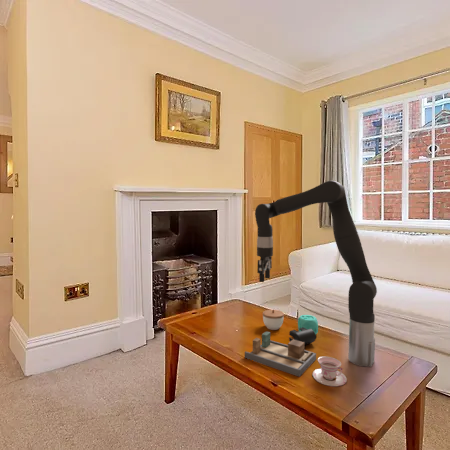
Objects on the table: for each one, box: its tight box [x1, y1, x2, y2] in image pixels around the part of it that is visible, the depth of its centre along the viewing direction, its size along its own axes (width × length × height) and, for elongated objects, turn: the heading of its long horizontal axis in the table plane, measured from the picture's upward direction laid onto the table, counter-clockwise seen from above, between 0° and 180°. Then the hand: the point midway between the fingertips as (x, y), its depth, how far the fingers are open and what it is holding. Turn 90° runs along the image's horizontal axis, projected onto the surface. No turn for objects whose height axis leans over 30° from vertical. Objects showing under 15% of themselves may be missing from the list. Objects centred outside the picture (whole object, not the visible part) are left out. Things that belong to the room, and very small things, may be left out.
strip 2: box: [261, 331, 313, 362], centre depth 132 cm, size 20×8×6 cm, turn 54°
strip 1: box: [252, 337, 302, 369], centre depth 126 cm, size 20×5×6 cm, turn 54°
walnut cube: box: [287, 338, 306, 359], centre depth 129 cm, size 5×5×5 cm
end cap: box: [288, 327, 317, 346], centre depth 143 cm, size 10×7×7 cm
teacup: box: [312, 355, 348, 387], centre depth 116 cm, size 12×12×6 cm
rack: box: [244, 339, 317, 377], centre depth 130 cm, size 24×17×2 cm
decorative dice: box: [297, 314, 319, 335], centre depth 156 cm, size 8×8×8 cm
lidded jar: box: [262, 309, 285, 331], centre depth 163 cm, size 11×11×9 cm
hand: (264, 279), depth 151 cm, fingers open, 8 cm apart
